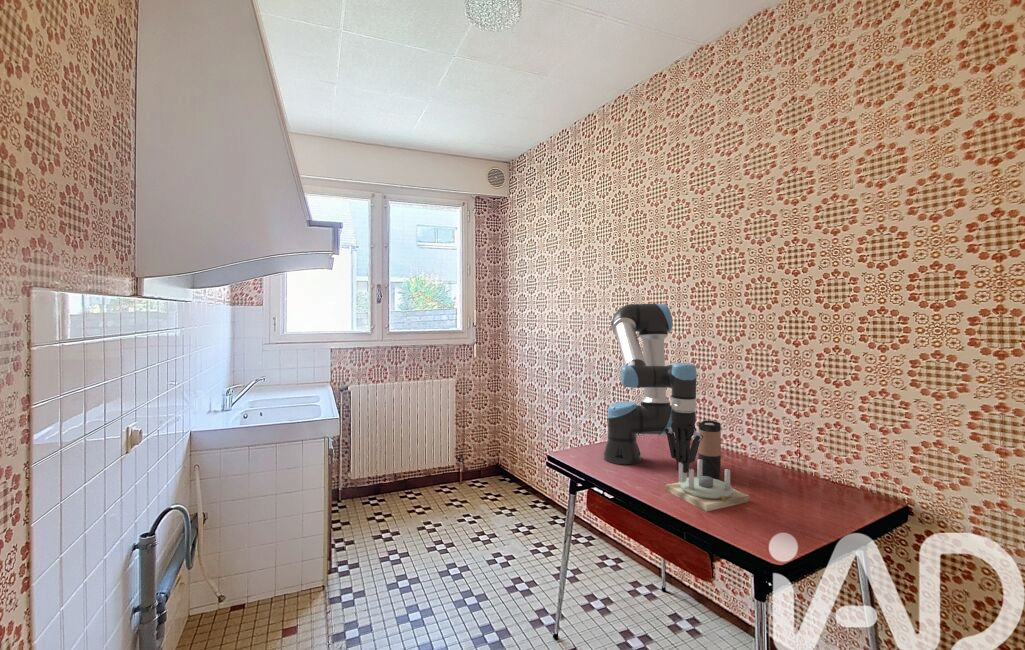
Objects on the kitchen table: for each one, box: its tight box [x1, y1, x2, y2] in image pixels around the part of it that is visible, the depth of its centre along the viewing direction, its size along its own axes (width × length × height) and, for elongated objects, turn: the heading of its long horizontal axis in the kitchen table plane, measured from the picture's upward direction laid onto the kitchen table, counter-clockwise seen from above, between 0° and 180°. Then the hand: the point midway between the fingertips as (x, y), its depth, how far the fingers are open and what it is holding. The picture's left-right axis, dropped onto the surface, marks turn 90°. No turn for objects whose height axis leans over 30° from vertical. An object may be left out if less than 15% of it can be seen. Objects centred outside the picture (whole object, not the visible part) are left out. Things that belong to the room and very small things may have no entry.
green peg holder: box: [680, 458, 734, 499], centre depth 151 cm, size 16×16×8 cm
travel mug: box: [697, 420, 722, 480], centre depth 169 cm, size 8×8×20 cm
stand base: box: [665, 481, 750, 513], centre depth 151 cm, size 18×18×3 cm
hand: (682, 481), depth 151 cm, fingers closed
